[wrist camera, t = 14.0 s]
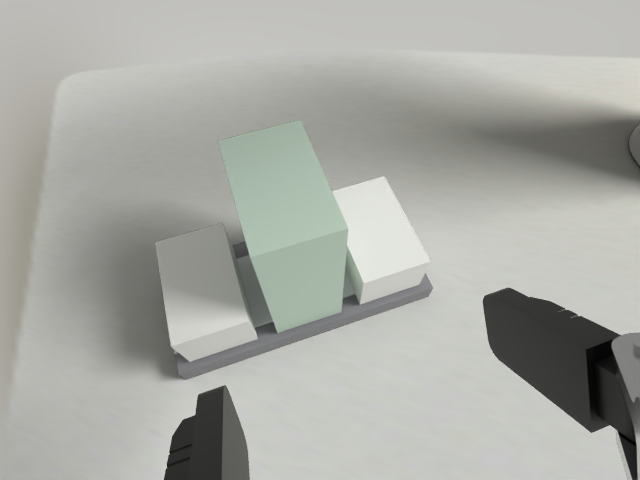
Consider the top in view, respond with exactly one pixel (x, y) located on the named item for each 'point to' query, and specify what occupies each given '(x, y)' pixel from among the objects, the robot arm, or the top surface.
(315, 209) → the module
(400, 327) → the top surface
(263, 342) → the board
